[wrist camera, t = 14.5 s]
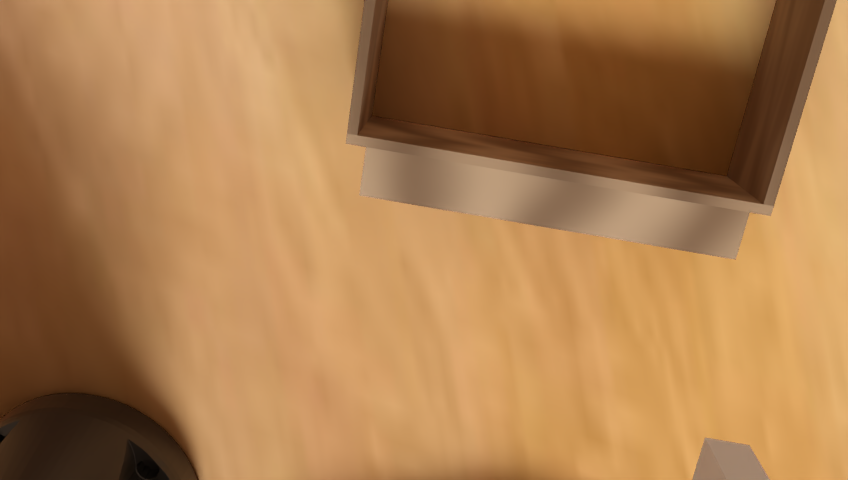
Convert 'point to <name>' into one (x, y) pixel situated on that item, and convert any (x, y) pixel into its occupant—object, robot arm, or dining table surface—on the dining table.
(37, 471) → the robot arm
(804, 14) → the brown shallow open box
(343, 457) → the dining table surface
